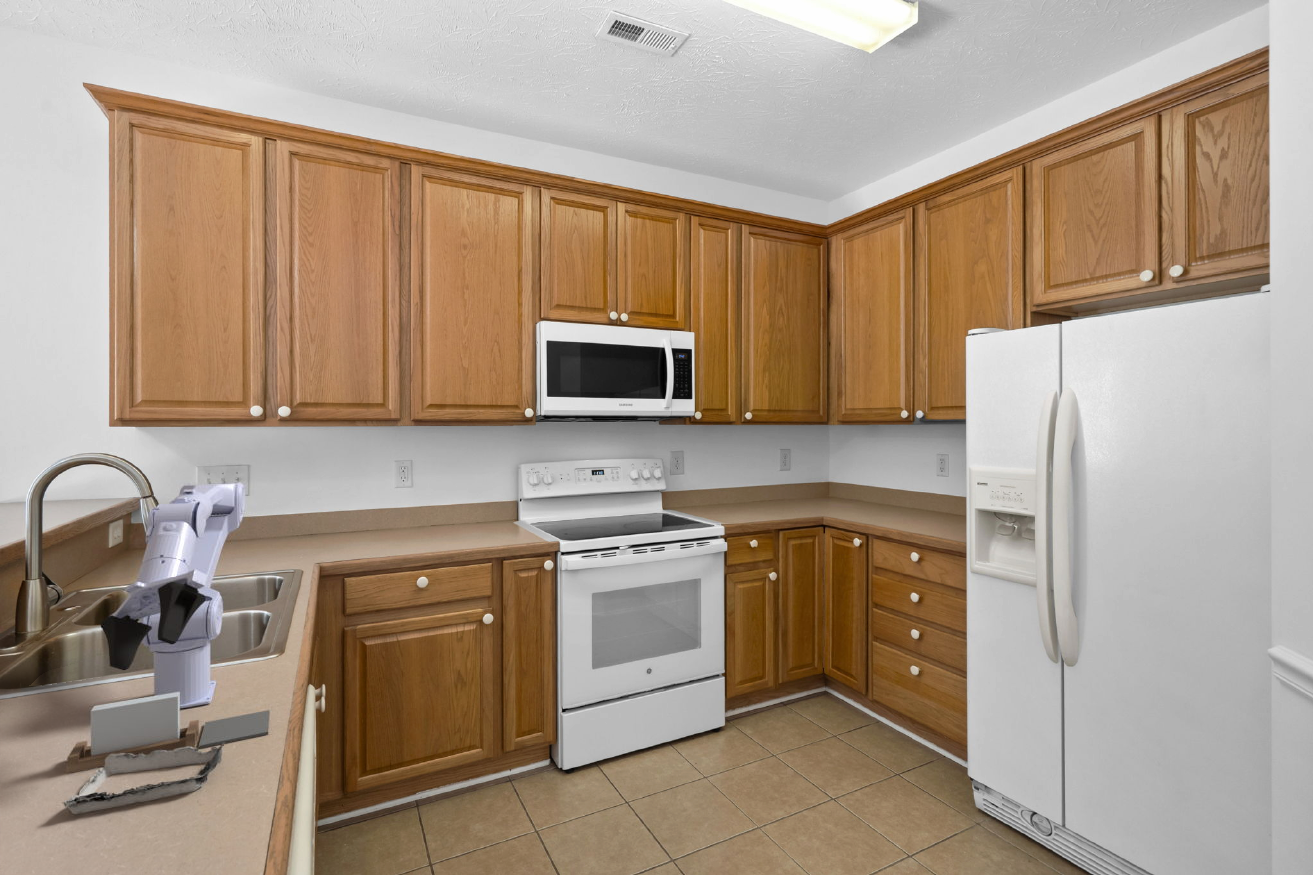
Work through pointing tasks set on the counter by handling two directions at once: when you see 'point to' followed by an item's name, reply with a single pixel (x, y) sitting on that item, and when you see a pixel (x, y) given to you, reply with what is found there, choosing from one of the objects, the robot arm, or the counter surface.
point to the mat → (234, 729)
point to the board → (135, 723)
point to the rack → (84, 760)
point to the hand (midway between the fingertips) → (143, 654)
